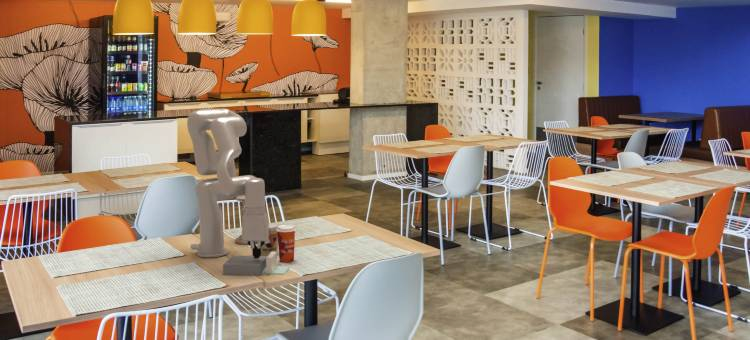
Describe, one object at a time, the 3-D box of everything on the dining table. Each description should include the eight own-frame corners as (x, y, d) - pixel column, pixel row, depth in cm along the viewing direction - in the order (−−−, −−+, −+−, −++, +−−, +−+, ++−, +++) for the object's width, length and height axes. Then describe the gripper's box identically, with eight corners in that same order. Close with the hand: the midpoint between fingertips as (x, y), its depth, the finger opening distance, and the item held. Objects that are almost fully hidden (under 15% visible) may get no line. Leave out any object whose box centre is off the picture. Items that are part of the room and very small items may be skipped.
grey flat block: (223, 274, 290) (223, 264, 289) (232, 265, 303) (232, 255, 302) (259, 275, 289) (259, 265, 288) (267, 265, 301) (267, 255, 301)
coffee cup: (259, 257, 314) (258, 229, 312) (254, 252, 322) (253, 224, 320) (281, 255, 317) (281, 226, 315) (276, 250, 326) (275, 222, 324)
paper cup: (283, 264, 303) (282, 229, 301) (273, 260, 310) (272, 226, 307) (300, 261, 308) (299, 227, 306) (290, 257, 314) (289, 223, 312)
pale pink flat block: (266, 257, 290) (271, 257, 289) (271, 251, 298) (276, 251, 298) (266, 273, 290) (271, 273, 290) (271, 266, 299) (276, 266, 299)
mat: (261, 273, 291) (261, 273, 291) (267, 266, 300) (267, 265, 300) (284, 274, 290) (284, 273, 290) (289, 267, 300) (289, 266, 300)
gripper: (233, 212, 289) (235, 260, 291) (272, 213, 287) (273, 260, 290) (238, 208, 296) (240, 255, 299) (276, 209, 295) (278, 255, 297)
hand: (256, 257), depth 294 cm, fingers closed
